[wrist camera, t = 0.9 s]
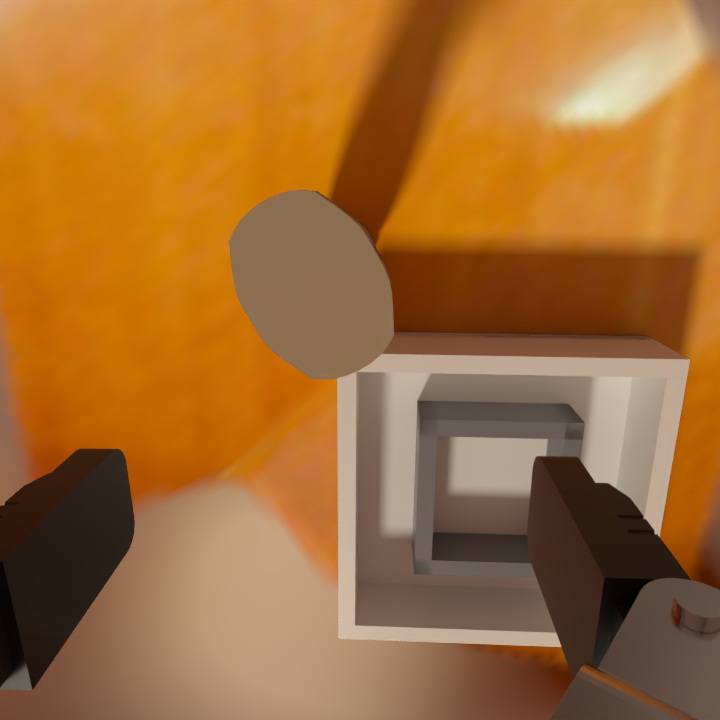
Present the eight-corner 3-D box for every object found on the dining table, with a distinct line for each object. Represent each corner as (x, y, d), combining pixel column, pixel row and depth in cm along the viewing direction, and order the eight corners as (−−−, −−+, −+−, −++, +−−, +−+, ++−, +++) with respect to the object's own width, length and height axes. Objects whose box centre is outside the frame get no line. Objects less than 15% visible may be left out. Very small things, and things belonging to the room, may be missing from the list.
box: (343, 330, 35) (337, 353, 30) (647, 335, 35) (690, 359, 30) (344, 585, 40) (338, 638, 35) (609, 594, 40) (640, 649, 35)
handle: (353, 174, 33) (327, 163, 18) (406, 275, 34) (422, 337, 20) (279, 217, 34) (200, 238, 19) (335, 314, 35) (300, 401, 21)
